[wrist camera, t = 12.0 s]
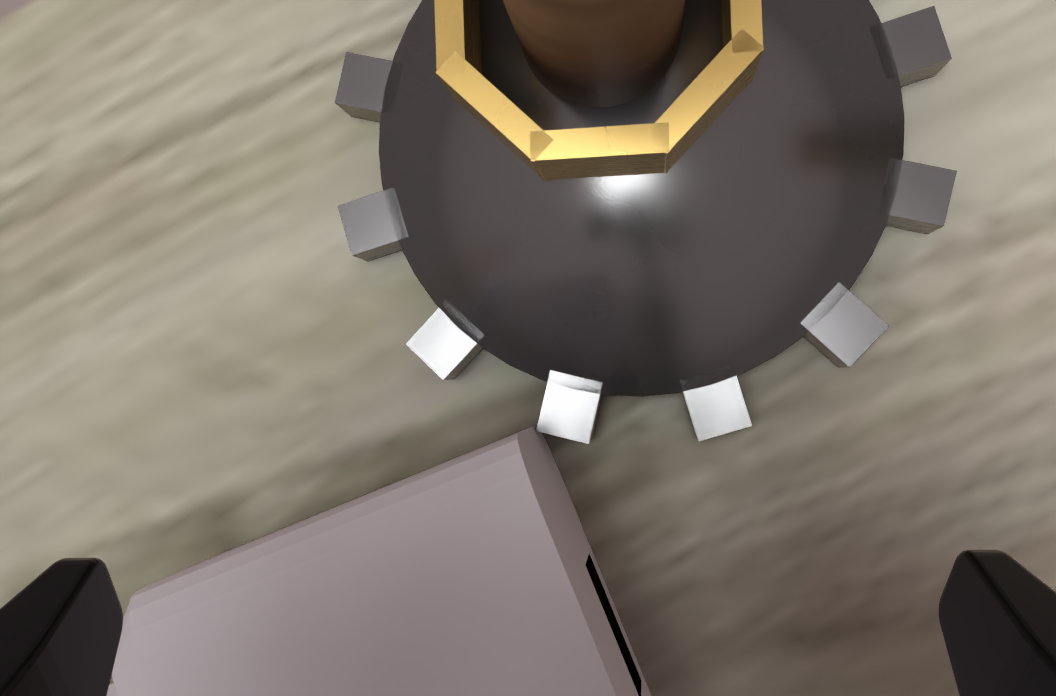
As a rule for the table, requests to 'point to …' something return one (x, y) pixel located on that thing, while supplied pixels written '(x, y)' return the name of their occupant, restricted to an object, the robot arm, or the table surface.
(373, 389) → the table surface
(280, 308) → the table surface
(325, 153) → the table surface
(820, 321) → the sprocket
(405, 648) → the charger
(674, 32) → the peg
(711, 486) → the table surface
